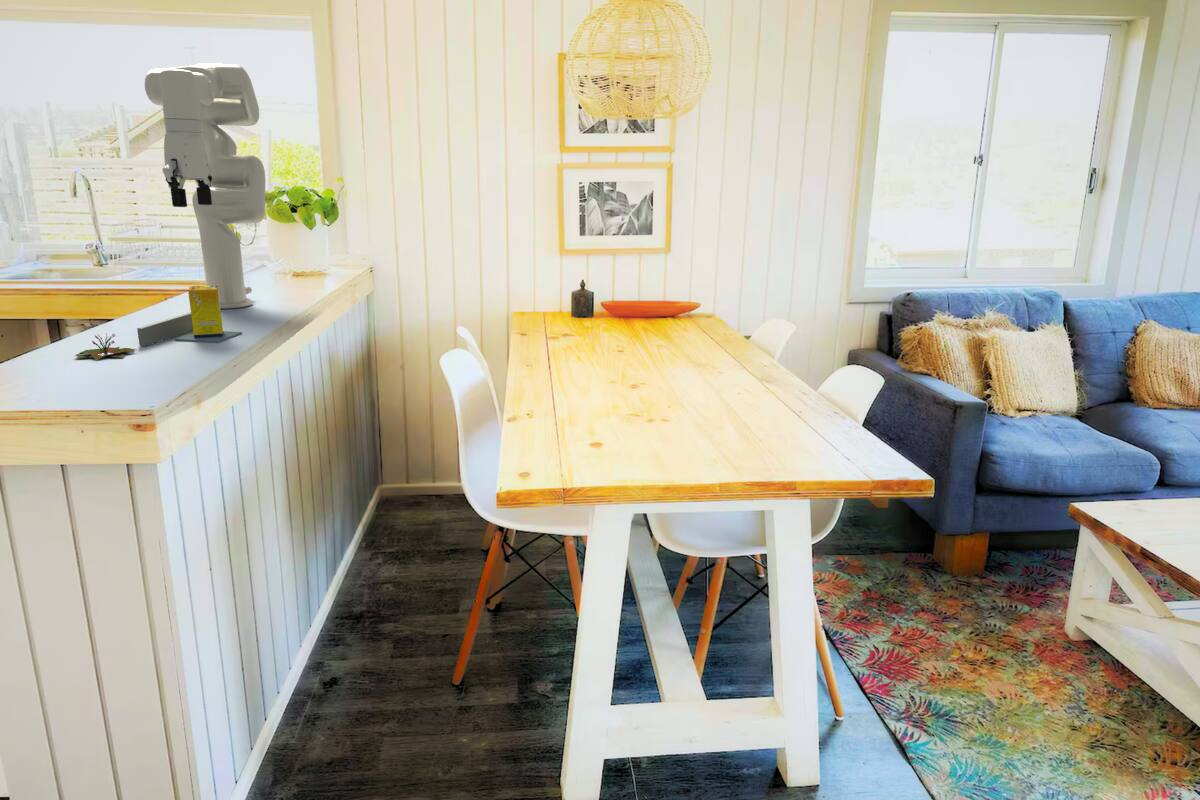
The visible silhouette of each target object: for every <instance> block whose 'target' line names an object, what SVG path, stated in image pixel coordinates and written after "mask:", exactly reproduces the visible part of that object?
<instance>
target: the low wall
mask: <svg viewBox="0 0 1200 800" xmlns="http://www.w3.org/2000/svg"><path fill="white" fill-rule="evenodd" d="M136 329H137V335H138V344H139V347H140V346H145V347H147V346H146V345H148V346H150V345H149V344H151V345H153V344H152V343H154V344H157V343H159V342H158V341H160V342H162V341H161V340H163V341H165V339H166V340H169V339H172V338H175V337H177V336H176V335H178V336H180V334H181V335H184V334H187V333H190V332H192V331H191V330H193V324H192V316H191V312H187V313H185V314H182V315H177V316H175V317H171V318H168V319H167V318H166V319H165V320H161V321H157V322H154V323H150V324H147V325H143V326H140V327H137V328H136ZM189 331H190V332H189ZM186 332H187V333H186ZM183 333H184V334H183ZM174 336H175V337H174ZM171 337H172V338H171ZM168 338H169V339H168ZM156 342H157V343H156Z"/></svg>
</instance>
